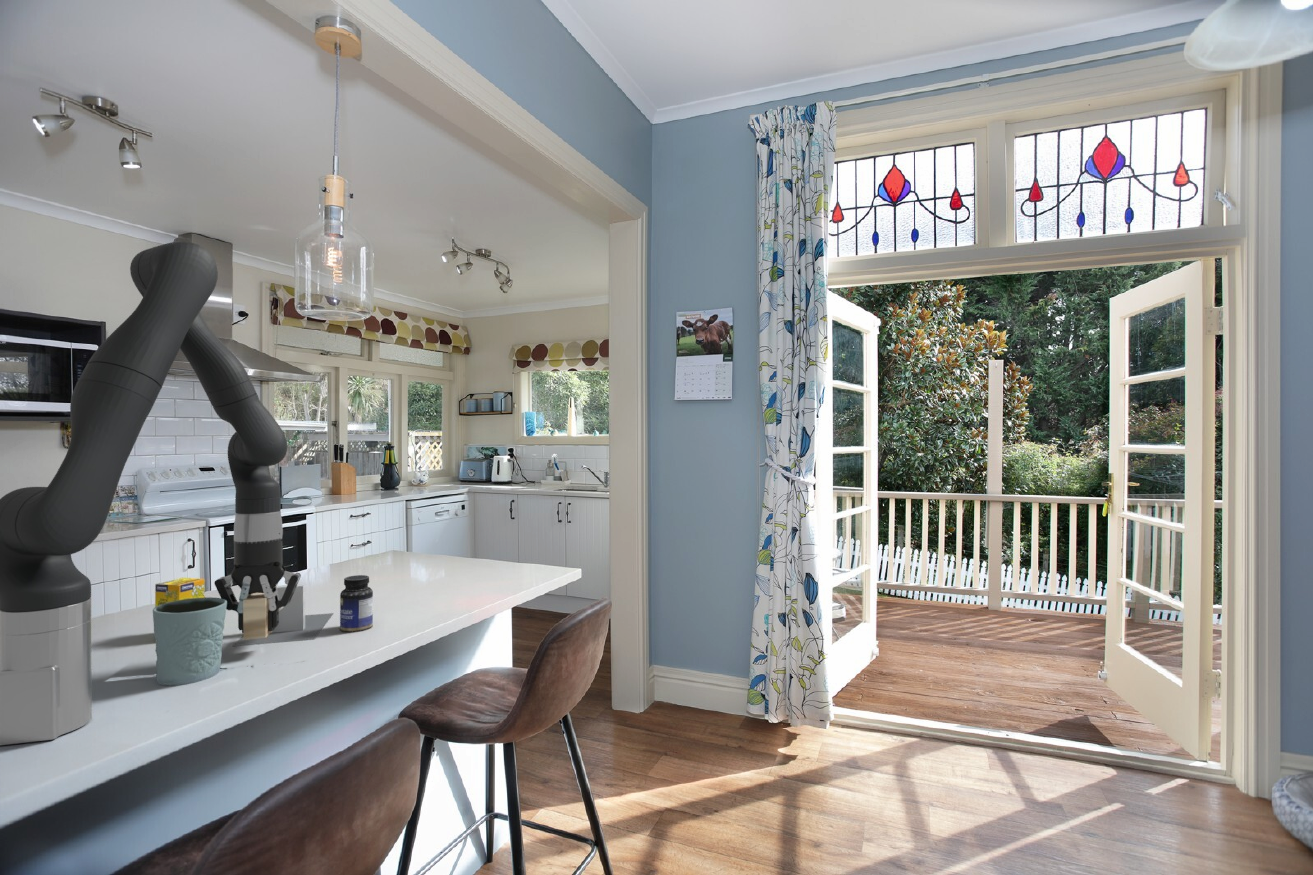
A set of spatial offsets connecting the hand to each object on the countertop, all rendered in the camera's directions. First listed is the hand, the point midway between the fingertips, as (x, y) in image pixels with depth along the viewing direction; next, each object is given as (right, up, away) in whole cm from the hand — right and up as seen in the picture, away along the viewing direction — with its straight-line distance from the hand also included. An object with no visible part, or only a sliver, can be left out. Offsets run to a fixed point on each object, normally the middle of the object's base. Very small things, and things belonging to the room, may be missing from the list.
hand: (259, 630), depth 117 cm
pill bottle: (+11, -5, +15) cm, 19 cm away
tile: (-4, -4, +13) cm, 14 cm away
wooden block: (-1, -1, +4) cm, 4 cm away
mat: (-4, -5, +15) cm, 16 cm away
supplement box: (-24, -5, +13) cm, 27 cm away
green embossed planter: (-6, -5, -9) cm, 12 cm away
